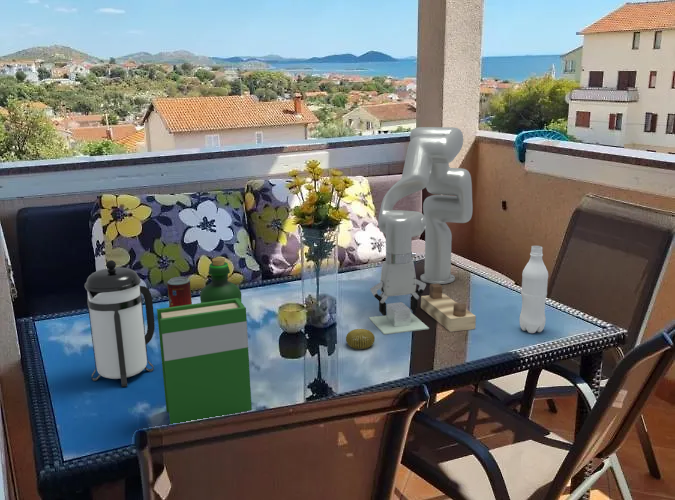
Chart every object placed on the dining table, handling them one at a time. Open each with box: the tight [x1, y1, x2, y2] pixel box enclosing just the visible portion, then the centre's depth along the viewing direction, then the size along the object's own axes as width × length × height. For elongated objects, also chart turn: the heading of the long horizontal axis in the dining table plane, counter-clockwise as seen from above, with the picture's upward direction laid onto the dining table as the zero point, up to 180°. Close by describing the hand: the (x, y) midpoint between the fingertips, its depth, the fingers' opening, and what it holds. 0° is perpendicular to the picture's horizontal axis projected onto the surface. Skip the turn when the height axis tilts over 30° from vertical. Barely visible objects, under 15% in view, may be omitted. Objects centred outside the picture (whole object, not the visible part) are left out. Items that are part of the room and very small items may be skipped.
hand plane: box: [420, 283, 477, 333], centre depth 192 cm, size 22×8×8 cm, turn 15°
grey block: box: [386, 301, 412, 327], centre depth 188 cm, size 7×5×5 cm
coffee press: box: [84, 260, 156, 388], centre depth 155 cm, size 17×16×30 cm
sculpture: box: [345, 328, 375, 350], centre depth 173 cm, size 8×4×8 cm
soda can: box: [166, 276, 193, 307], centre depth 197 cm, size 7×7×12 cm
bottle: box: [199, 257, 242, 303], centre depth 160 cm, size 11×11×28 cm
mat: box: [368, 312, 430, 335], centre depth 189 cm, size 14×14×1 cm
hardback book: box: [156, 298, 253, 424], centre depth 136 cm, size 18×7×24 cm, turn 112°
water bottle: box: [519, 245, 549, 334], centre depth 178 cm, size 7×7×25 cm
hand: (398, 312), depth 188 cm, fingers open, 9 cm apart
